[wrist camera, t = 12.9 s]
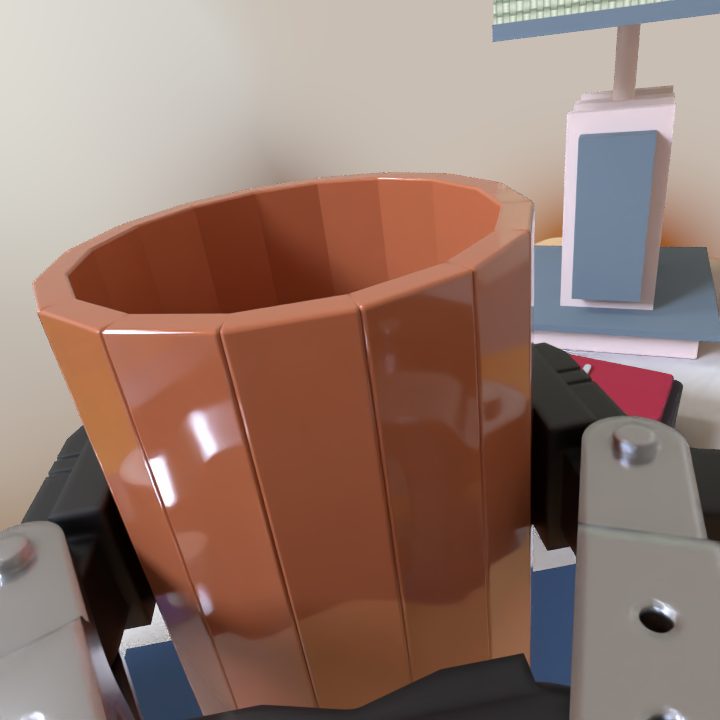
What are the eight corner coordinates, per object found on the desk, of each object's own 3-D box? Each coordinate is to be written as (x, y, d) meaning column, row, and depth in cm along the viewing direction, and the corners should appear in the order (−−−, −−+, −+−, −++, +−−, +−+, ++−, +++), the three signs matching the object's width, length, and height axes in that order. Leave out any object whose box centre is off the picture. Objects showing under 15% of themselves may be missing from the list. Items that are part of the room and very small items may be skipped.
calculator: (648, 492, 25) (346, 404, 32) (633, 565, 27) (353, 467, 35) (687, 368, 33) (436, 320, 40) (673, 432, 35) (438, 375, 42)
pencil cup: (216, 929, 9) (-80, 381, 5) (240, 614, 15) (109, 209, 10) (587, 852, 10) (639, 260, 5) (479, 570, 15) (457, 155, 10)
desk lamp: (717, 376, 38) (849, -364, 23) (494, 357, 44) (481, -247, 29) (701, 271, 53) (776, -226, 37) (535, 267, 58) (541, -166, 43)
